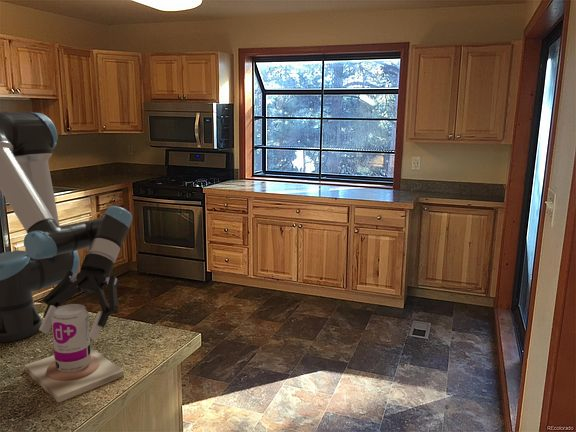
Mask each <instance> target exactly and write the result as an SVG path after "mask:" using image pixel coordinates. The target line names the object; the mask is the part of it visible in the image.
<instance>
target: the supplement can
mask: <svg viewBox="0 0 576 432" xmlns="http://www.w3.org/2000/svg"><path fill="white" fill-rule="evenodd" d="M51 319H52V326H51V328H52V329H51V333H52V343H53V355H54V358H55V367H56V369H58V370H59V371H61V372H66V373H70V372H77V371H80V370H82V369H84V368H86V367H87V366H88V364H89V363H90V362H91V351H90V347H91V338H89V337H88V335H89V333H90V321H89V320H90V318H89V311H88V310H87V309H86V306H85V305H83V304H80V303H79V304H78V303H70V304H64V305H60V306H58V307H57V308H56V309H55V310H54V313H53V315H52V318H51Z"/></svg>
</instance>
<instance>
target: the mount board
mask: <svg viewBox="0 0 576 432" xmlns="http://www.w3.org/2000/svg"><path fill="white" fill-rule="evenodd" d="M90 351H91V362H90V363H89V364H88V366H87V367H86V368H84V369H82V370H80V371H77V372H70V373H66V372H61V371H59V370H58V369H56V367H55V358H54V354H53V355H51V356H48V357H45V358H40V359H38V360H35V361H32V362H30V363H26V364H24V371H25V372H26V373H27V374H28V375H29V376H30V377H31V378H32V379H33V380H34V381H35V382H36V384H38V385H40V386H41V388H43V390H44V391H46V392H47V393H48V395H50V396H51V397H52V398H53V399H54V400H55V402H57V403H58V404H59V403H61V402H63V401H66V400H69V399H71V398H74V397H76V396H78V395H81V394H83V393H86V392H88V391H91V390H93V389H95V388H98V387H101V386H104V385H105V384H108V383H111V382H113V381H115V380H118V379H120V378H122V377H124V376H125V375H124V370H123V369H121V368H120V367H119V366H118V365H116V364H114V362H112V361H110V360H109V359H107V358H106V357H105V356H103V355H102V354H101V353H99V352H98V351H96V350H95V349H94V348H92V347H91V346H90Z"/></svg>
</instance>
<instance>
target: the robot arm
mask: <svg viewBox="0 0 576 432" xmlns="http://www.w3.org/2000/svg"><path fill="white" fill-rule="evenodd" d="M58 137H59V136H58V131H57V128H56V126H55V124H54V121H53V120H52V119H51V118H49V117H48V116H47V115H45V114H44V113H41V112H32V111H1V110H0V191H1V193H2V195H3V196H4V198H5V200H6V201H7V203H8V204H9V207H11V210H12V211H13V213H14V215H15V216H16V218H17V219H18V221H19V222H20V224H21V225H22V227H23V229H24V231H25V232H26V235H25V236H24V238H23V246H24V247H25V249H24V250H21V249H20V250H18V249H17V250H12V251H5V252H2V253H0V343H9V342H14V341H15V342H16V341H20V340H23V339H27V338H29V337H32V336H34V335H36V334H37V333H38V332H41V333H43V334H45V335H48V334H49V332H50V329H51V328H52V319H51V318H52V315H53V313H54V310H55V309H56V308H58V307H60V306H62V305H63V304H64V303H65V302H67V301H68V300H69V299H71V298H73V297H74V296H75V295H76V294H80V293H81V292H84V293H92V294H94V293H95V295H96V297H97V300H98V303H99V306H100V308H101V309H100V310H101V311H97V314H96V317H95V319H94V321H93V323H92V326H91V328H90V330H89V335H88V337H89V338H90V340H91V341H94V342H95V341H97V340H98V337H99V334H100V332H101V330H102V328H104V327H105V326H106V324H107V321H108V319H109V317H110V315H113V314H115V315H116V314H118V313H119V300H118V290H117V288H118V284H119V280H118V278H117V277H116V276H114V275H111V273H112V271H113V268H114V265H115V262H116V261H117V258H118V256H119V253H120V251H121V248H122V246H123V244H124V242H125V239H126V237H127V235H128V233H129V230H130V229H131V228H130V226H131V224H132V221H133V215H132V213H131V212H130V211H128V210H127V209H126V208H124V207H121V206H119V205H118V206H117V205H111V206H109V207H107V209H106V210H105V212H104V213H103V216H102V217H98V218H95V219H94V218H93V219H90V220H83V221H79V222H75V223H71V224H63V225H60V222H59V221H60V220H59V216H58V210H57V203H56V198H55V193H54V187H53V182H52V177H51V171H50V165H49V159H50V158H51V157H52V155H53V151H52V150H54V149H55V148H56V146H57V143H58V140H59V139H58ZM83 249H88V250H87V252H86V253H87V254H86V255H85V257H84V259H83V261H82V263H81V266H80V256H79V252H78V251H80V250H83ZM79 269H80V270H79ZM106 284H107V289H108V290H107V292H108V300H107V298H106V296H105V295H106V294H105V291H104V288H103V287H104V286H105V285H106ZM52 286H55V287H53V289H51V290H50V291H49V292H48V294H47V295H45V296H44V297H43V299H42V302H43V303H45V304H46V305H47V306H46V308H45V310H44V313H43V315H42V317H43V320H42V318H41V316H40V314H39V312H38V310H37V308H36V305H35V304H34V297H33V296H34V295H33V293H35V292H38V291H42V290H43V289H47V288H50V287H52Z"/></svg>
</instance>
